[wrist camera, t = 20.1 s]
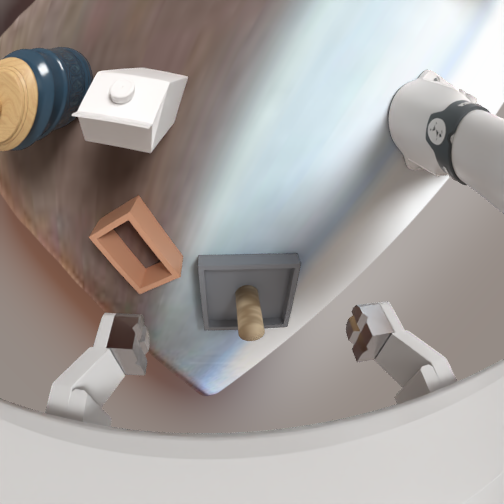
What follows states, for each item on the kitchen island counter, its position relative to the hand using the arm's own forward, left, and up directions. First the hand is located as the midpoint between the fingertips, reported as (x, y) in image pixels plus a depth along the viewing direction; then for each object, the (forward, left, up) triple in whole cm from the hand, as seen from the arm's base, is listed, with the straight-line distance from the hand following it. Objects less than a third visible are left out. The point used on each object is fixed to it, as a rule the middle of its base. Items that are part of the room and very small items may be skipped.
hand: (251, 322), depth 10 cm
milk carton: (+10, -5, -34) cm, 36 cm away
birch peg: (-4, +32, -33) cm, 46 cm away
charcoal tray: (-4, +32, -34) cm, 47 cm away
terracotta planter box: (+15, +19, -34) cm, 42 cm away
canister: (+26, -9, -34) cm, 44 cm away
